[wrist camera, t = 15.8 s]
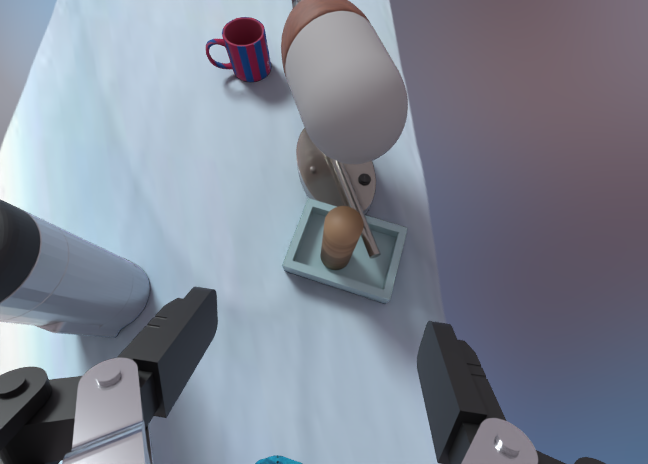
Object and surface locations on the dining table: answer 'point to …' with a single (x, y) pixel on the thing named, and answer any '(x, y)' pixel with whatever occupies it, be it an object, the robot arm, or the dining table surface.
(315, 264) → the bin
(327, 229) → the dowel
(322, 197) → the light fixture
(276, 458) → the mineral
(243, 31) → the mug
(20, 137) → the dining table surface
